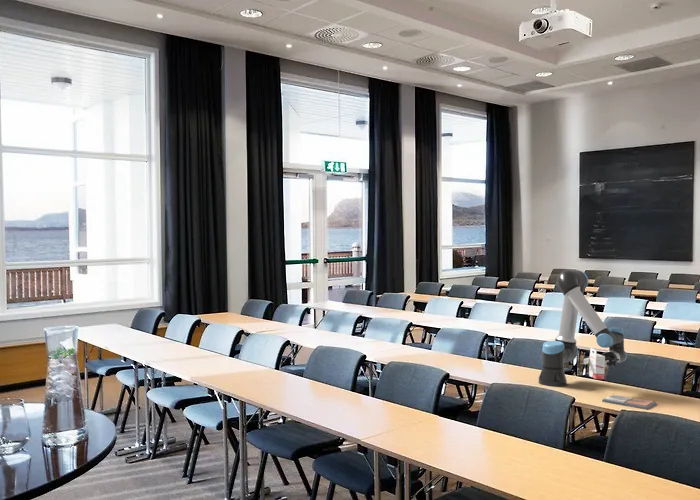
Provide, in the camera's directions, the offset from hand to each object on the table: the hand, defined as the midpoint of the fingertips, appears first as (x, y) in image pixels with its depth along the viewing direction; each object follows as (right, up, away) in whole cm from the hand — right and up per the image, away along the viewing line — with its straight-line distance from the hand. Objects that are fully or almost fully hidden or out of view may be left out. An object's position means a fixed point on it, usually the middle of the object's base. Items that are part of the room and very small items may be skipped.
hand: (593, 363), depth 316 cm
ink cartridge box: (+3, -8, +3) cm, 9 cm away
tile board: (+15, -18, -8) cm, 25 cm away
